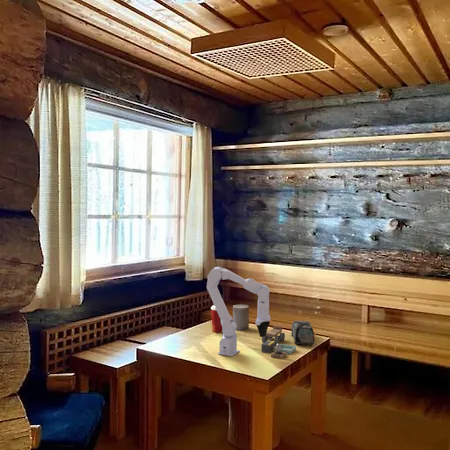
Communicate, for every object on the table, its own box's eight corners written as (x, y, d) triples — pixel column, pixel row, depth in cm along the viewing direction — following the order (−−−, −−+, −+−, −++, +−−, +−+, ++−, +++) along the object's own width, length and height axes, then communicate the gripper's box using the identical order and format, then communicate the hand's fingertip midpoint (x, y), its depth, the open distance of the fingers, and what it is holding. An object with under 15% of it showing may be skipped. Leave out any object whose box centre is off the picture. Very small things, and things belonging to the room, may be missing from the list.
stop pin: (280, 357, 246) (280, 345, 246) (275, 356, 247) (275, 344, 247) (281, 355, 248) (282, 344, 248) (277, 355, 249) (277, 343, 249)
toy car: (308, 334, 289) (309, 317, 288) (314, 347, 264) (315, 328, 263) (290, 334, 289) (290, 317, 289) (294, 346, 264) (295, 328, 264)
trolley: (276, 345, 265) (276, 332, 264) (261, 343, 269) (262, 330, 268) (284, 340, 276) (285, 327, 275) (270, 337, 280) (270, 325, 279)
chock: (269, 353, 252) (269, 344, 252) (261, 352, 254) (261, 343, 254) (274, 349, 259) (274, 341, 258) (266, 348, 261) (266, 339, 260)
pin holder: (282, 358, 243) (282, 355, 243) (270, 356, 246) (270, 353, 246) (286, 355, 249) (286, 352, 249) (275, 353, 252) (275, 350, 251)
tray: (290, 354, 250) (290, 350, 250) (274, 352, 254) (274, 348, 254) (295, 350, 258) (296, 346, 258) (280, 347, 262) (280, 343, 262)
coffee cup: (227, 331, 293) (227, 305, 292) (219, 334, 286) (220, 308, 285) (214, 328, 297) (215, 304, 296) (207, 332, 290) (207, 306, 289)
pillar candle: (248, 326, 304) (248, 302, 303) (249, 330, 294) (249, 305, 293) (232, 326, 304) (232, 302, 303) (232, 330, 294) (232, 305, 294)
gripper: (265, 313, 240) (264, 341, 241) (275, 307, 253) (275, 333, 253) (251, 311, 243) (251, 339, 244) (263, 306, 256) (262, 332, 257)
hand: (262, 336), depth 249 cm, fingers closed
